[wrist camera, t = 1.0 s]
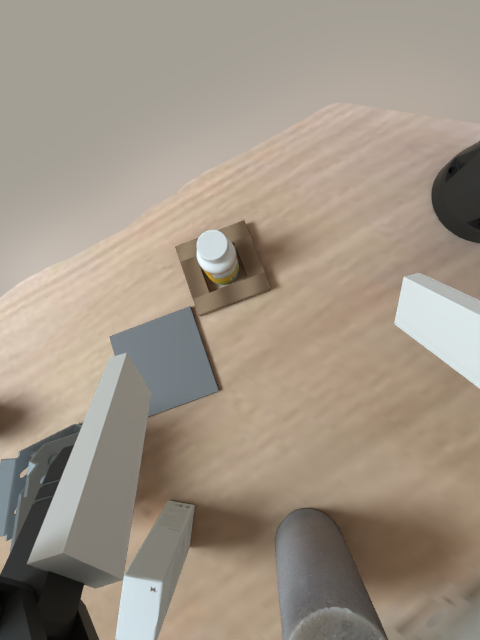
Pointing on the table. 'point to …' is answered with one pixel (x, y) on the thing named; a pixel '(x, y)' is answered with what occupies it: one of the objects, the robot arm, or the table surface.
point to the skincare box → (155, 574)
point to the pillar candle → (321, 583)
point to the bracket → (28, 479)
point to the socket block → (233, 292)
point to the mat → (169, 359)
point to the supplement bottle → (217, 257)
